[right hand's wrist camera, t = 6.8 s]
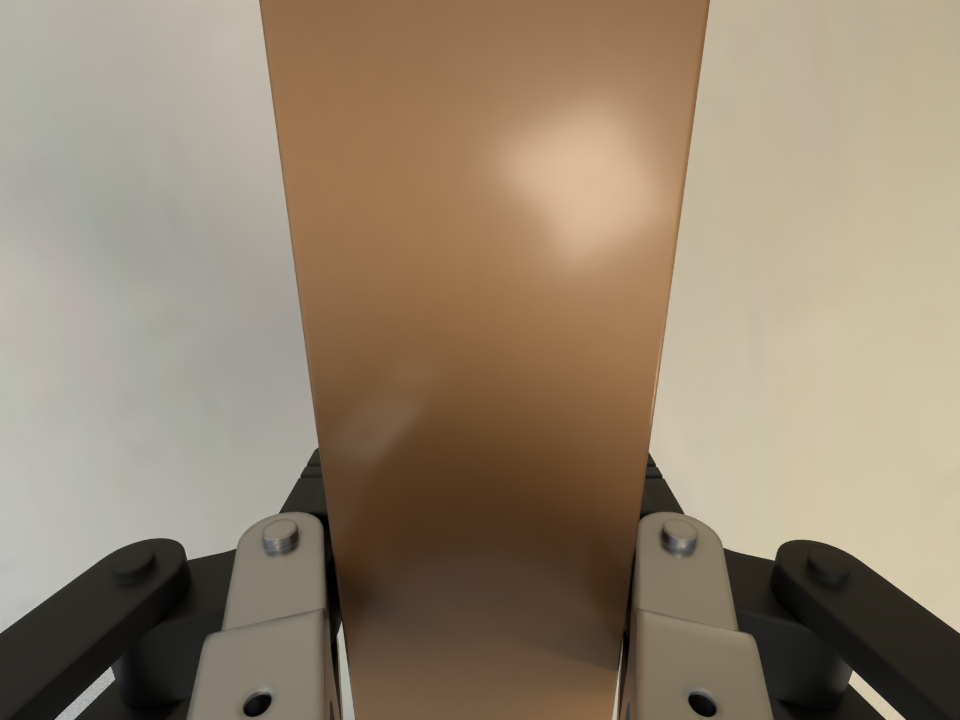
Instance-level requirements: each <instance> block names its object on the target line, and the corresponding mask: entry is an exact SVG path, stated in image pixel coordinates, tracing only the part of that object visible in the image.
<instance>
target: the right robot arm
mask: <svg viewBox="0 0 960 720" xmlns="http://www.w3.org/2000/svg"><path fill="white" fill-rule="evenodd" d="M341 621H342V617H341V610H340V602H339V595H338V587H337V580H336V572H335V565H334V557H333V550H332V542H331V535H330V527H329V520H328V512H327V505H326V497H325V490H324V482H323V475H322V467H321V460H320V452H319V448H317V449H316V450H315V451H314V453H313V454H312V456H311V458H310V460H309V462H308V463H307V467H305V469H304V470H303V472H302V474H301V478H299V479H298V481H297V483H296V484H295V486H294V488H293V490H292V491H291V493H290V495H289V497H288V498H287V500H286V502H285V504H284V505H283V507H282V509H281V511H280V512H279V514H276V515H273V516H270V517H267V518H265V519H263V520H261V521H259V522H257V523H256V524H254V525H253V526H251V527H250V528H249V529H248V530H247V531H246V532H245V533H244V534H243V535H242V536H241V538H240V540H239V542H238V545H237V549H234V550H231V551H228V552H224V553H219V554H215V555H210V556H206V557H201V558H197V559H192V560H188V561H187V557H186V553H185V550H184V547H183V546H182V545H181V544H180V543H179V542H177V541H175V540H172V539H166V538H157V539H148V540H143V541H139V542H136V543H133V544H130V545H127V546H125V547H123V548H120V549H118V550H116V551H114V552H113V553H111V554H109V555H108V556H106V557H105V558H103V559H102V560H100V561H99V562H98V563H96V564H95V565H93V566H92V567H91V568H89V569H88V570H87V571H85V572H84V573H83V574H81V575H80V576H78V577H77V578H76V579H74V580H73V581H72V582H70V583H69V584H67V585H66V586H65V587H63V588H62V589H61V590H59V591H58V592H57V593H55V594H54V595H52V596H51V597H50V598H48V599H47V600H46V601H44V602H43V603H41V604H40V605H39V606H37V607H36V608H35V609H33V610H32V611H30V612H29V613H28V614H26V615H25V616H24V617H22V618H21V619H20V620H18V621H17V622H15V623H14V624H13V625H11V626H10V627H9V628H7V629H6V630H4V631H3V632H2V633H0V720H55V719H56V718H57V716H58V715H59V714H60V713H61V712H63V711H64V710H65V709H66V708H67V707H68V706H69V705H70V704H71V703H72V702H73V701H74V700H75V699H76V698H77V697H78V696H80V695H81V694H82V693H83V692H84V691H85V690H86V689H87V688H88V687H89V686H90V685H91V684H92V683H93V682H94V681H95V680H97V679H98V678H99V677H100V676H101V675H102V674H103V673H104V672H105V671H106V670H107V669H108V668H109V667H110V666H111V668H112V671H113V674H114V676H115V680H114V681H113V682H112V683H111V684H110V685H109V686H108V687H107V688H106V689H105V690H104V691H103V692H102V693H101V694H100V695H99V696H98V697H97V698H96V699H95V700H94V701H93V702H92V703H91V704H90V705H89V706H88V707H87V708H86V709H85V710H84V711H83V712H82V713H81V714H80V715H79V716H77V717H76V718H75V719H74V720H343V709H342V692H341V675H340V658H339V644H338V636H337V634H338V631H339V628H340V625H341ZM853 670H854V671H855V672H856V673H857V674H858V675H859V676H860V677H861V678H862V679H864V680H865V681H866V682H867V683H868V684H869V685H870V686H871V687H872V688H873V689H874V690H875V691H876V692H877V693H878V694H879V695H880V696H882V697H883V698H884V699H885V700H886V701H887V702H888V703H889V704H890V705H891V706H892V707H893V708H894V709H895V710H896V711H897V712H899V713H900V714H901V715H902V716H903V717H904V718H905V719H906V720H960V633H958V632H957V631H956V630H954V629H953V628H951V627H950V626H949V625H947V624H946V623H945V622H943V621H942V620H940V619H939V618H938V617H936V616H935V615H934V614H932V613H931V612H930V611H928V610H927V609H925V608H924V607H923V606H921V605H920V604H919V603H917V602H916V601H914V600H913V599H912V598H910V597H909V596H908V595H906V594H905V593H904V592H902V591H901V590H899V589H898V588H897V587H895V586H894V585H893V584H891V583H890V582H888V581H887V580H886V579H884V578H883V577H882V576H880V575H879V574H877V573H876V572H875V571H873V570H872V569H871V568H869V567H868V566H867V565H865V564H864V563H862V562H861V561H860V560H858V559H857V558H855V557H854V556H852V555H850V554H848V553H847V552H845V551H843V550H841V549H838V548H836V547H833V546H831V545H828V544H824V543H821V542H816V541H811V540H793V541H789V542H786V543H784V544H782V545H781V546H780V547H779V549H778V551H777V554H776V558H775V561H773V560H769V559H764V558H759V557H755V556H750V555H746V554H741V553H738V552H734V551H731V550H728V549H725V548H723V545H722V542H721V540H720V538H719V537H718V535H717V534H716V533H715V532H714V531H713V530H712V529H711V528H710V527H709V526H707V525H706V524H704V523H703V522H701V521H699V520H697V519H695V518H693V517H690V516H687V515H685V514H684V512H683V510H682V509H681V507H680V505H679V503H678V502H677V500H676V498H675V497H674V495H673V493H672V491H671V490H670V488H669V486H668V485H667V483H666V481H665V479H663V478H662V474H661V472H660V471H659V469H658V467H656V464H655V462H654V460H653V459H652V457H651V455H650V453H649V452H648V459H647V466H646V474H645V481H644V488H643V496H642V503H641V510H640V518H639V525H638V532H637V540H636V547H635V554H634V562H633V569H632V576H631V584H630V591H629V598H628V606H627V613H626V620H625V628H624V635H623V642H622V650H621V657H620V674H619V691H618V708H617V720H886V719H885V718H884V717H883V716H882V715H880V714H879V713H878V712H877V711H876V710H875V709H874V708H873V707H872V706H871V705H870V704H869V703H868V702H867V701H866V700H865V699H864V698H863V697H862V696H861V695H860V694H859V693H858V692H857V691H856V690H855V689H854V688H853V687H852V686H851V685H850V684H849V683H848V682H849V680H850V677H851V674H852V671H853Z"/></svg>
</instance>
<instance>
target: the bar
mask: <svg viewBox="0 0 960 720" xmlns="http://www.w3.org/2000/svg"><path fill="white" fill-rule="evenodd" d="M259 2H260V10H261V17H262V25H263V32H264V40H265V47H266V55H267V62H268V70H269V77H270V85H271V92H272V100H273V107H274V115H275V122H276V130H277V137H278V145H279V152H280V160H281V167H282V175H283V182H284V190H285V197H286V205H287V212H288V220H289V227H290V235H291V242H292V250H293V257H294V265H295V272H296V280H297V287H298V295H299V302H300V310H301V317H302V325H303V332H304V340H305V347H306V355H307V362H308V370H309V377H310V385H311V392H312V400H313V407H314V415H315V422H316V430H317V437H318V445H319V452H320V460H321V467H322V475H323V482H324V490H325V497H326V505H327V512H328V520H329V527H330V535H331V542H332V550H333V557H334V565H335V572H336V580H337V587H338V595H339V602H340V610H341V617H342V625H343V632H344V640H345V647H346V655H347V662H348V670H349V677H350V685H351V692H352V700H353V707H354V715H355V720H612V716H613V709H614V701H615V694H616V687H617V679H618V672H619V665H620V657H621V650H622V642H623V635H624V628H625V620H626V613H627V606H628V598H629V591H630V584H631V576H632V569H633V562H634V554H635V547H636V540H637V532H638V525H639V518H640V510H641V503H642V496H643V488H644V481H645V474H646V466H647V459H648V452H649V444H650V437H651V429H652V422H653V415H654V407H655V400H656V393H657V385H658V378H659V371H660V363H661V356H662V349H663V341H664V334H665V327H666V319H667V312H668V305H669V297H670V290H671V283H672V275H673V268H674V261H675V253H676V246H677V238H678V231H679V224H680V216H681V209H682V202H683V194H684V187H685V180H686V172H687V165H688V158H689V150H690V143H691V136H692V128H693V121H694V114H695V106H696V99H697V92H698V84H699V77H700V70H701V62H702V55H703V48H704V40H705V33H706V25H707V18H708V11H709V3H710V0H259Z"/></svg>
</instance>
